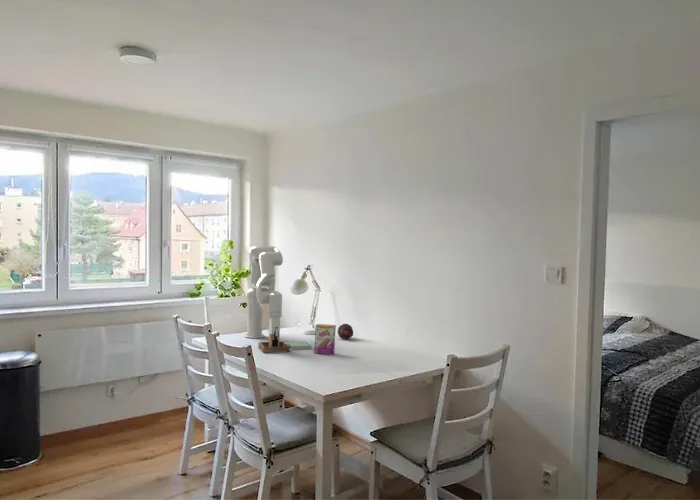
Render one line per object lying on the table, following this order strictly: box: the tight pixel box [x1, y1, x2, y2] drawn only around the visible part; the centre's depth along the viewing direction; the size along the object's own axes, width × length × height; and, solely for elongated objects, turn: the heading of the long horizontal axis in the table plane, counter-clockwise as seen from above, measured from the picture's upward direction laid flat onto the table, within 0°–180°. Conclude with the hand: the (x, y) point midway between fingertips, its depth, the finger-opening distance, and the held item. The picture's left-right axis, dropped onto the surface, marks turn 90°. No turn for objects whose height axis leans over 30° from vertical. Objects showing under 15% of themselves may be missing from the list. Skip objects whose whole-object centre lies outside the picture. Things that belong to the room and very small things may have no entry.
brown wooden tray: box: [257, 341, 291, 354], centre depth 302 cm, size 15×15×3 cm
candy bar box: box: [314, 323, 337, 355], centre depth 297 cm, size 11×5×16 cm, turn 84°
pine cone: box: [336, 323, 354, 340], centre depth 342 cm, size 18×10×10 cm, turn 20°
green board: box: [286, 340, 313, 351], centre depth 312 cm, size 12×12×2 cm
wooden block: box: [268, 332, 281, 347], centre depth 302 cm, size 5×5×10 cm
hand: (273, 345), depth 302 cm, fingers closed on wooden block, 5 cm apart
